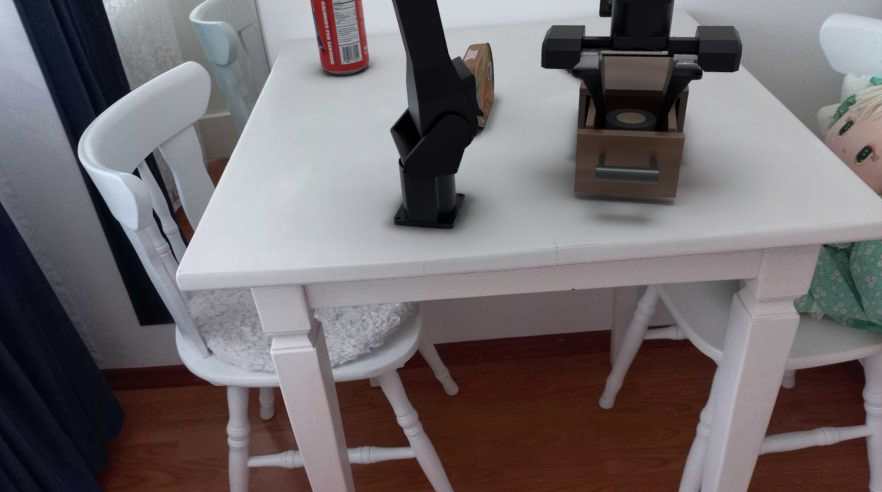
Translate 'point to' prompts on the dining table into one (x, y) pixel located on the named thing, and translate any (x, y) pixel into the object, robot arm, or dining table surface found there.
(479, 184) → the dining table surface
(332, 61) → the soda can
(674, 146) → the drawer
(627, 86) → the cabinet
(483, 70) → the tin
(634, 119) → the tape
